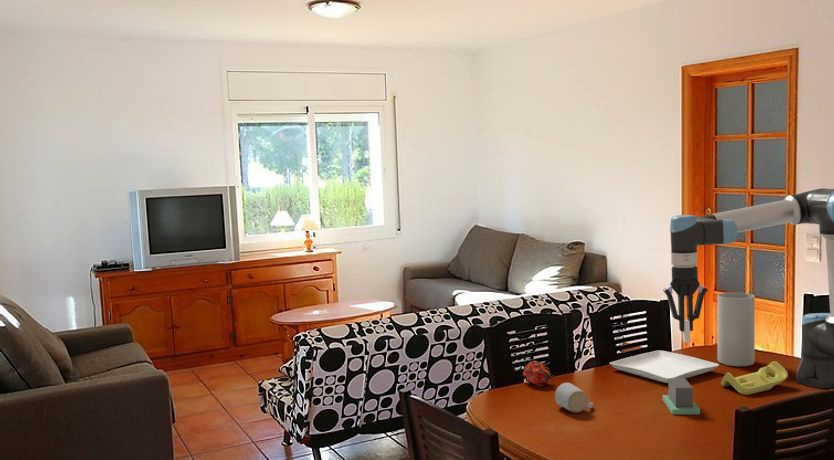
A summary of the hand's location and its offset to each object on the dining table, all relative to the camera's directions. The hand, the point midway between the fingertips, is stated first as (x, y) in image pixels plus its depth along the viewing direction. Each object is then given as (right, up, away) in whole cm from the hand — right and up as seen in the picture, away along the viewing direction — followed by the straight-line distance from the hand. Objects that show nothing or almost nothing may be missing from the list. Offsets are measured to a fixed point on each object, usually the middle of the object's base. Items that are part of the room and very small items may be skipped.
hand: (686, 341), depth 236 cm
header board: (-2, -20, -1) cm, 20 cm away
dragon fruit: (-41, -19, +28) cm, 53 cm away
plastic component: (+28, -18, +14) cm, 36 cm away
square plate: (+5, -17, +37) cm, 41 cm away
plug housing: (-2, -18, 0) cm, 18 cm away
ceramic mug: (-34, -21, +1) cm, 40 cm away
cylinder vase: (+34, -15, +45) cm, 58 cm away
